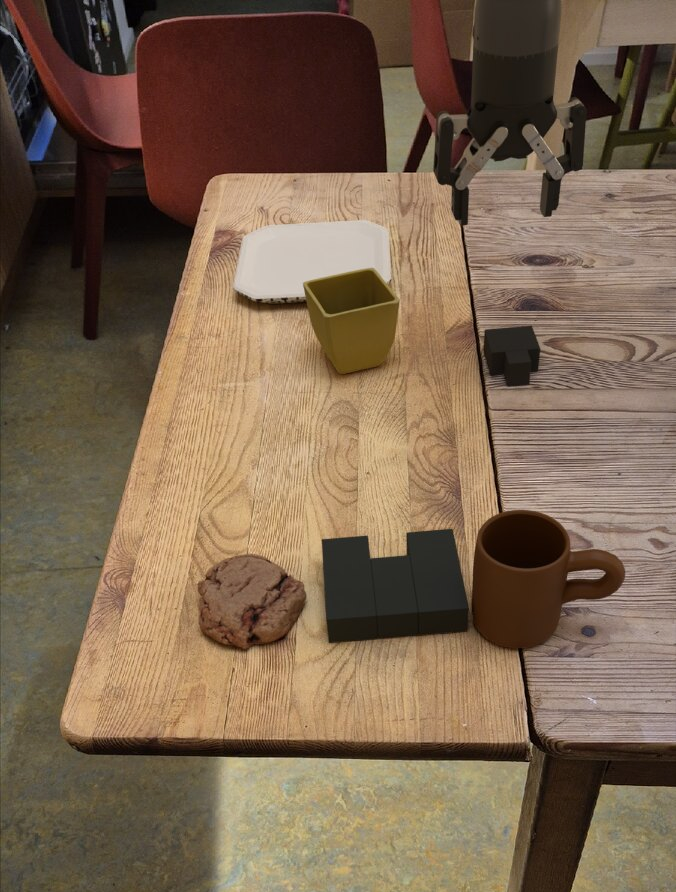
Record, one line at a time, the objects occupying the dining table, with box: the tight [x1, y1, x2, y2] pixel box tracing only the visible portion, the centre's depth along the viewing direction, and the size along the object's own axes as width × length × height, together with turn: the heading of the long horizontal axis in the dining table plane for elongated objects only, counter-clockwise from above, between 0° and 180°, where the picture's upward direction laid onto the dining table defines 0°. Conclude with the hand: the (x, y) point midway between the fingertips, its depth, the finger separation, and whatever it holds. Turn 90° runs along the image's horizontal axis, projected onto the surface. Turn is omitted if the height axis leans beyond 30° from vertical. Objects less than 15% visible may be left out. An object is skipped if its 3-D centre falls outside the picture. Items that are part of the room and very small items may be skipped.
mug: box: [471, 509, 626, 649], centre depth 76 cm, size 12×8×9 cm, turn 73°
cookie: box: [197, 553, 307, 650], centre depth 82 cm, size 10×11×3 cm
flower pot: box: [303, 268, 401, 375], centre depth 107 cm, size 9×9×9 cm
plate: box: [232, 219, 392, 305], centre depth 125 cm, size 21×21×2 cm
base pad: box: [321, 528, 470, 644], centre depth 82 cm, size 12×10×3 cm
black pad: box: [482, 325, 541, 387], centre depth 106 cm, size 6×8×3 cm
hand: (504, 218), depth 94 cm, fingers open, 8 cm apart
